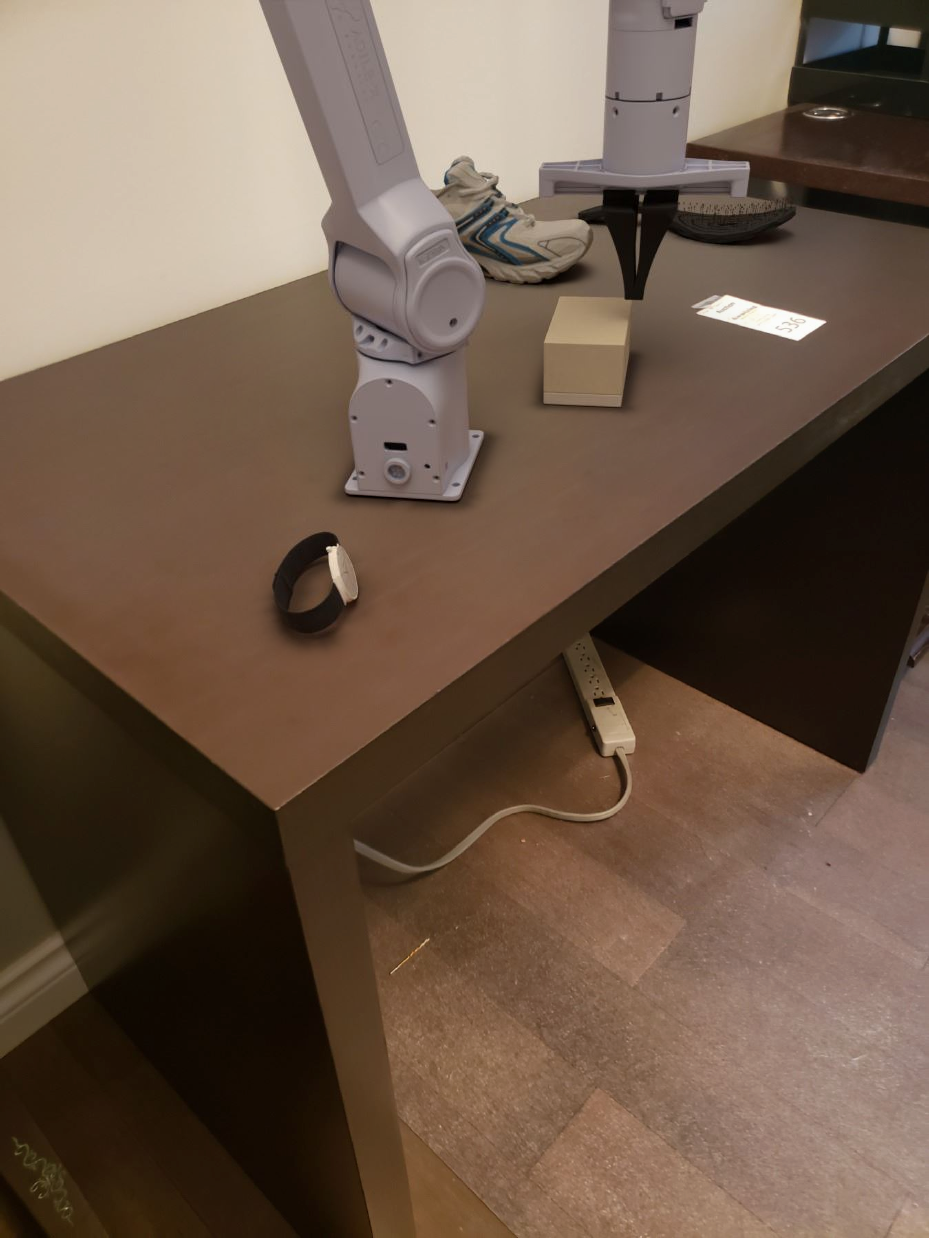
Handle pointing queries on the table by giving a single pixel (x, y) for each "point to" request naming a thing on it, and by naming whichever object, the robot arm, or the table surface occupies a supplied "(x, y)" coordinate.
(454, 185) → the athletic shoe
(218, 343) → the table surface
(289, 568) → the watch
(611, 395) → the tilted tan cardboard box
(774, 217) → the hairbrush
